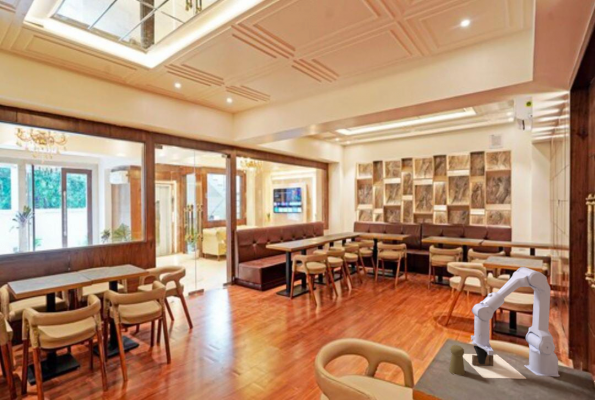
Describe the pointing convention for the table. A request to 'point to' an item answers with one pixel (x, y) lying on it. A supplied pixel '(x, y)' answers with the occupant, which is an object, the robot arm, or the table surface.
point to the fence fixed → (490, 360)
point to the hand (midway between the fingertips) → (481, 363)
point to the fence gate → (475, 360)
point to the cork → (457, 360)
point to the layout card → (495, 368)
